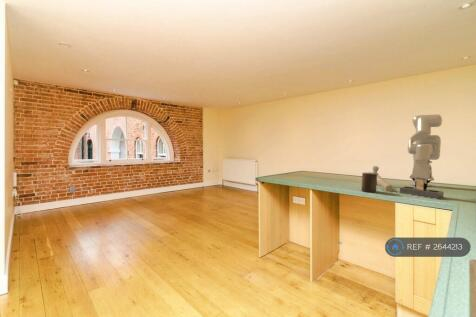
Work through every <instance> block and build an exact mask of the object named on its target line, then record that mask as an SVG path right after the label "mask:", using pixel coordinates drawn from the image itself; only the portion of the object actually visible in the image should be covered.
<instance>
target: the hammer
mask: <svg viewBox="0 0 476 317" xmlns="http://www.w3.org/2000/svg"><path fill="white" fill-rule="evenodd" d="M379 168H380V167H379V166H377V165H372V168H371V169H372V171H371V173H376V174H377V184H379V185H380V186H381V187H382V188H383V189H384V190H385V191H387V192H391V191H392V190H393V185H391V184H390V183H388V182H387V181H386V180H385V179H384V178H383V177H381V175H379V172H378V171H379Z"/></svg>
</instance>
